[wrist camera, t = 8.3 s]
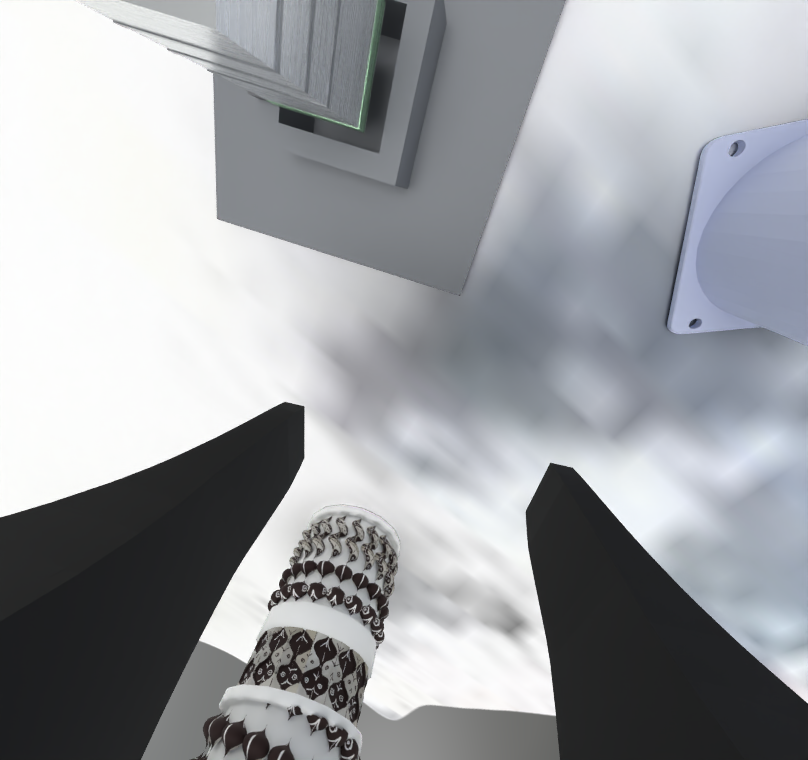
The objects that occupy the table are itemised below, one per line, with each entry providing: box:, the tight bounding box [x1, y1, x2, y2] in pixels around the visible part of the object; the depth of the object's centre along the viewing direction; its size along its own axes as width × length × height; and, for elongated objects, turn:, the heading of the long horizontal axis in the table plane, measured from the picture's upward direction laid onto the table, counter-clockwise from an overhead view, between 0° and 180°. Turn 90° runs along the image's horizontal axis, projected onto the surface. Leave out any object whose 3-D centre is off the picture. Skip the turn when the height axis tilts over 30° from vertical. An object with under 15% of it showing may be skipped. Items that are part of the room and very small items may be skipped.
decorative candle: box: [191, 505, 400, 760], centre depth 18 cm, size 9×9×25 cm
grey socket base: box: [213, 0, 566, 296], centre depth 12 cm, size 13×13×5 cm
